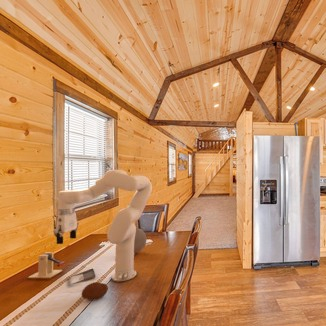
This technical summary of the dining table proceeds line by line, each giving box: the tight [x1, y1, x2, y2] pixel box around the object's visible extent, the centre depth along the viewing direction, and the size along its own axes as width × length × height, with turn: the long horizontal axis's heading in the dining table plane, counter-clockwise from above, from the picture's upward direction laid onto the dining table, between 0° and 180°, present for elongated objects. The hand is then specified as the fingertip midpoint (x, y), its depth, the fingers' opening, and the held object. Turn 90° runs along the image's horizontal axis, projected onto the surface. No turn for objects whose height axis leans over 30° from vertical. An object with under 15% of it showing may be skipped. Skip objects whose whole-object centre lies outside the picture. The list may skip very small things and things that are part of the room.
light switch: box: [70, 268, 96, 285], centre depth 130 cm, size 11×2×12 cm
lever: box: [43, 253, 67, 267], centre depth 134 cm, size 12×5×2 cm, turn 90°
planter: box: [134, 227, 148, 254], centre depth 169 cm, size 18×7×19 cm, turn 114°
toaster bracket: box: [27, 251, 63, 279], centre depth 134 cm, size 12×9×13 cm
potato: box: [81, 281, 109, 301], centre depth 112 cm, size 8×11×8 cm
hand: (66, 240), depth 134 cm, fingers open, 9 cm apart
